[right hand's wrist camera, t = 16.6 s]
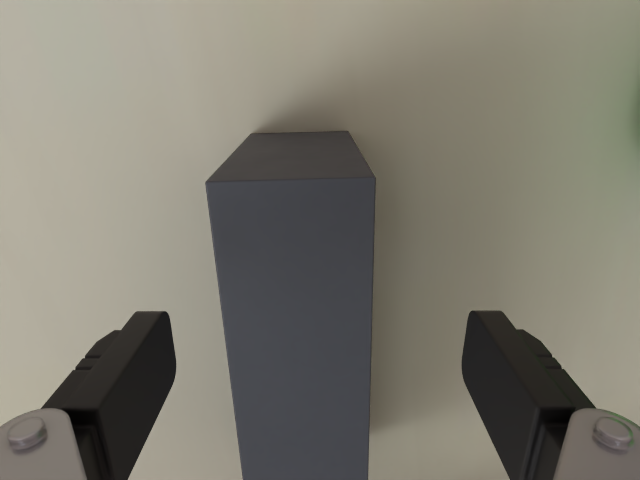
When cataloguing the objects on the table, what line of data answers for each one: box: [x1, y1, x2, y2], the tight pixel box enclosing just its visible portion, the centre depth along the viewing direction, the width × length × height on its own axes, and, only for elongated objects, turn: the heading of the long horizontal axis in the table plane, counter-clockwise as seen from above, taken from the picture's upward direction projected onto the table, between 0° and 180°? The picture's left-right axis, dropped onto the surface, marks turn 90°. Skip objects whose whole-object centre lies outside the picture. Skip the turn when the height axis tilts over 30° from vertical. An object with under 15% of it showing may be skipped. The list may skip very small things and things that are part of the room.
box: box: [205, 131, 376, 480], centre depth 25 cm, size 25×6×12 cm, turn 1°
